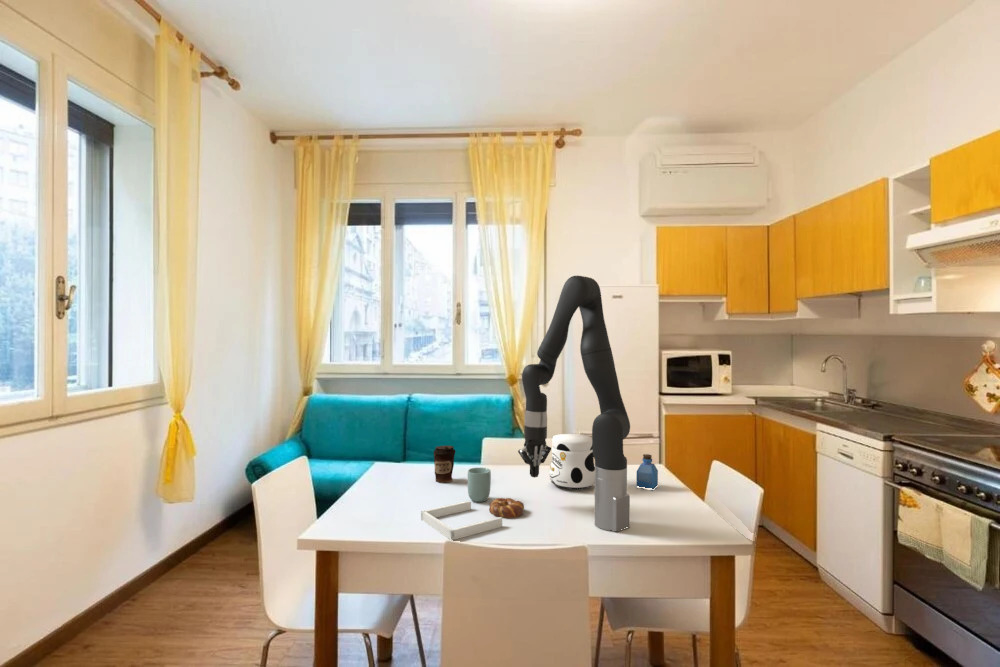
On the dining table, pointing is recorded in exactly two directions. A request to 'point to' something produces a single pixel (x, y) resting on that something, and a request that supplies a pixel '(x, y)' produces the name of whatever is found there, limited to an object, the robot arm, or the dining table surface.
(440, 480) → the coffee cup
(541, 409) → the robot arm
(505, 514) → the pretzel
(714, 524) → the dining table surface
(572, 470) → the milk container
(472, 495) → the cup
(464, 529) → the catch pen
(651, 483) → the perfume bottle
